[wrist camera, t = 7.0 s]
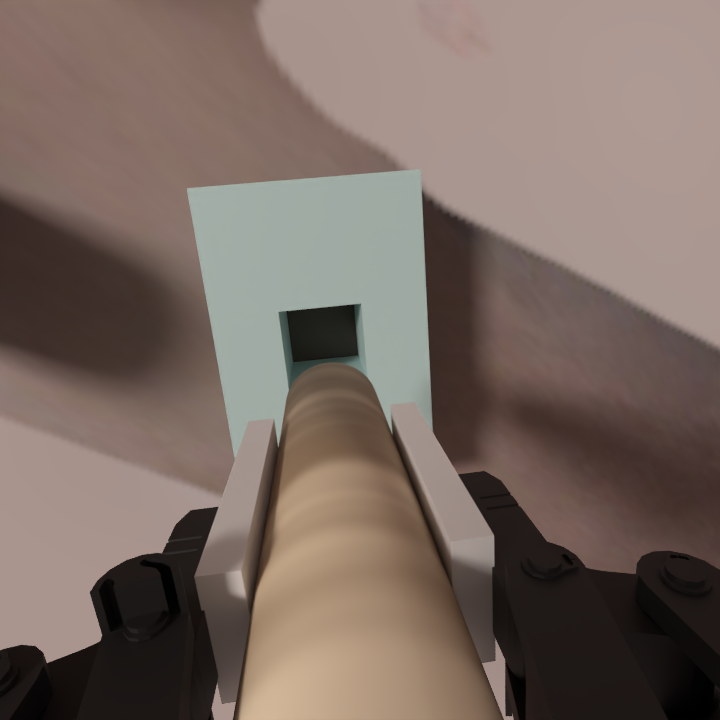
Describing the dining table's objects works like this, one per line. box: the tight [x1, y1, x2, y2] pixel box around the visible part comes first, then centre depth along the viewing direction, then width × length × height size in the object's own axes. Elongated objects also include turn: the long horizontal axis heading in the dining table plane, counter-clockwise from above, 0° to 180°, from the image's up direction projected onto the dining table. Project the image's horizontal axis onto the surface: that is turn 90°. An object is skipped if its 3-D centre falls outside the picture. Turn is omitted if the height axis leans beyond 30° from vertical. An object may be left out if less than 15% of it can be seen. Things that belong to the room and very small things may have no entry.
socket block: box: [187, 169, 433, 459], centre depth 29 cm, size 18×12×6 cm, turn 5°
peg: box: [233, 363, 504, 720], centre depth 11 cm, size 4×4×16 cm
